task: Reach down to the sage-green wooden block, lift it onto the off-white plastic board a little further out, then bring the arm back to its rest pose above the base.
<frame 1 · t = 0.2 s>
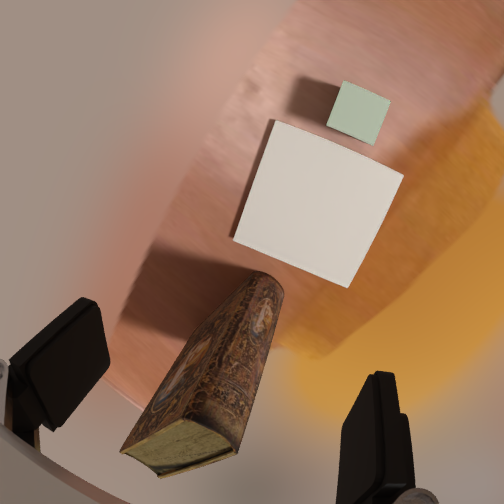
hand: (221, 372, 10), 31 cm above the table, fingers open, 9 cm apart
book: (238, 312, 46), on the table
pale board: (316, 206, 38), on the table
block: (353, 114, 33), on the table
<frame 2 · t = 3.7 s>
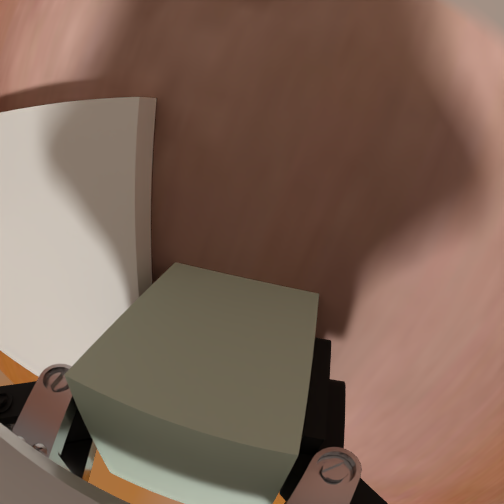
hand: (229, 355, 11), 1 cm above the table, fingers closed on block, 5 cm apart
pale board: (28, 268, 13), on the table
block: (237, 335, 12), on the table, touching gripper
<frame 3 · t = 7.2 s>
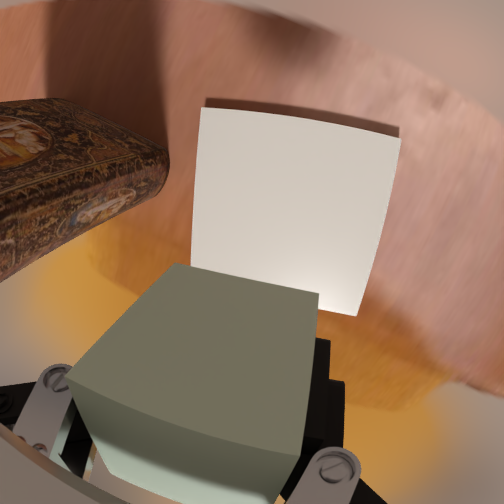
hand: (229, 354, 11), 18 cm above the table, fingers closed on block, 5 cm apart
book: (104, 145, 28), on the table
pale board: (287, 212, 27), on the table
block: (237, 336, 12), point 17 cm above the table, touching gripper
when the fingers open (3 cm above the table, at t = 10.8 s): block stays where it is, resting on pale board.
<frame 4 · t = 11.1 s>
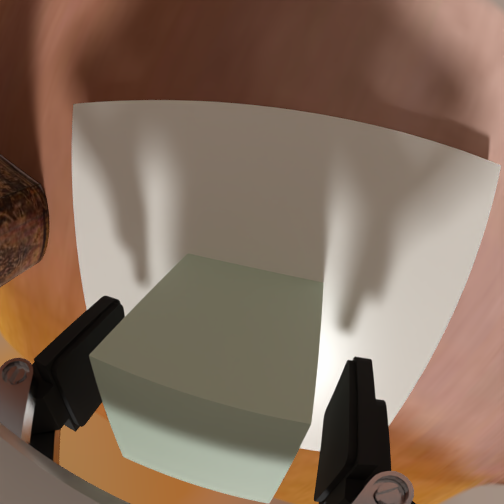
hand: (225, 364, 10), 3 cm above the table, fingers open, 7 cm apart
pale board: (248, 310, 13), on the table
block: (245, 324, 12), point 1 cm above the table, touching pale board
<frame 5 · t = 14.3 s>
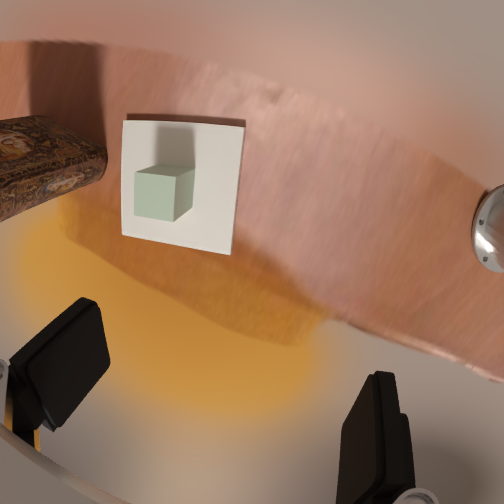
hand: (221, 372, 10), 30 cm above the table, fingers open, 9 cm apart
book: (68, 147, 40), on the table
pale board: (177, 184, 39), on the table
block: (175, 185, 38), point 1 cm above the table, touching pale board
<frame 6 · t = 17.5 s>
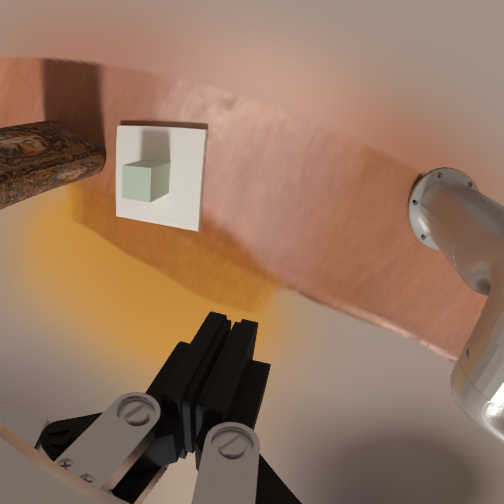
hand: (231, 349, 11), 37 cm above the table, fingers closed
book: (76, 146, 51), on the table
pale board: (158, 175, 49), on the table
block: (155, 176, 48), point 1 cm above the table, touching pale board
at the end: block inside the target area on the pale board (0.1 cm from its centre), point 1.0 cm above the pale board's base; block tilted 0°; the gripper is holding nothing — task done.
